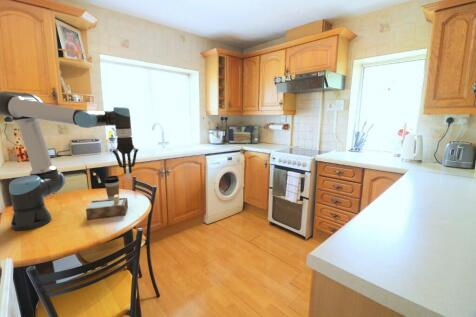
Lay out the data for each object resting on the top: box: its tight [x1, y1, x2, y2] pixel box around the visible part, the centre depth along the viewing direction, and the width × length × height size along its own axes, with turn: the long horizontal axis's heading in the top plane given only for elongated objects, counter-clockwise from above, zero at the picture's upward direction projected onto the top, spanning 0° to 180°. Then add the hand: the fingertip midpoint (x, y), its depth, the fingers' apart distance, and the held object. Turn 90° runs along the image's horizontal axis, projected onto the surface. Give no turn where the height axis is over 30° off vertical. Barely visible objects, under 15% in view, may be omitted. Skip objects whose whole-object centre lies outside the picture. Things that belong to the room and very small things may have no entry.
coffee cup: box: [103, 175, 120, 199], centre depth 148 cm, size 8×8×15 cm
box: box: [85, 197, 129, 221], centre depth 130 cm, size 18×12×6 cm, turn 108°
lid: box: [87, 193, 124, 208], centre depth 129 cm, size 16×9×5 cm, turn 108°
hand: (128, 179), depth 130 cm, fingers closed
